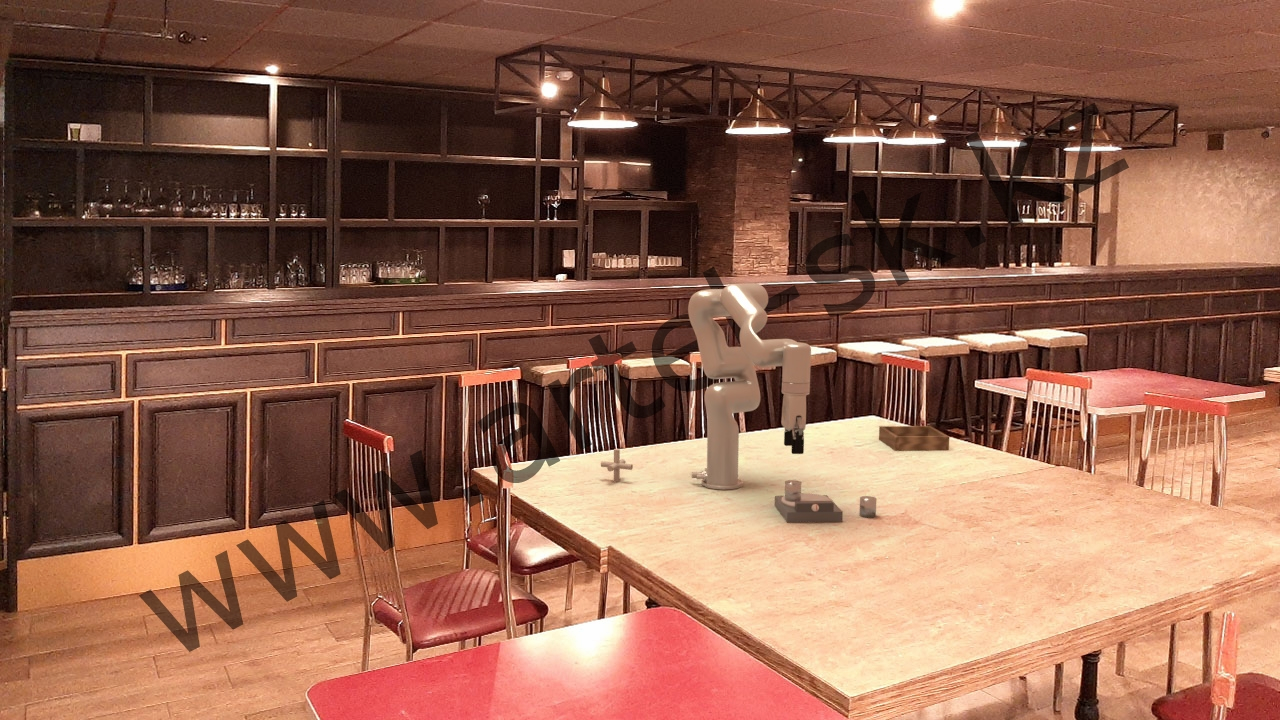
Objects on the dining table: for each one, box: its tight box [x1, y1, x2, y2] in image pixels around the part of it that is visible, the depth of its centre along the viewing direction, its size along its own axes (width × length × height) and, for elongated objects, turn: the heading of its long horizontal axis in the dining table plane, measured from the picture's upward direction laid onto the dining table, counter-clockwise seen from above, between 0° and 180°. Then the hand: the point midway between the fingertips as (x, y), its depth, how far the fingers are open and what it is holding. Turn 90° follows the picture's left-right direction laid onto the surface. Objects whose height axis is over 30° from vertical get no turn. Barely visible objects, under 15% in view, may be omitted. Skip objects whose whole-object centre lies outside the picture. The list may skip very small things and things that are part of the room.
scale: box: [774, 492, 844, 524], centre depth 283 cm, size 15×17×5 cm
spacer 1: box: [784, 479, 802, 502], centre depth 284 cm, size 4×4×5 cm
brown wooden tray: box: [878, 425, 950, 452], centre depth 373 cm, size 19×19×5 cm
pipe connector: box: [600, 448, 634, 483], centre depth 317 cm, size 10×10×10 cm
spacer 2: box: [858, 495, 877, 519], centre depth 281 cm, size 4×4×5 cm
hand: (793, 449), depth 282 cm, fingers open, 9 cm apart
